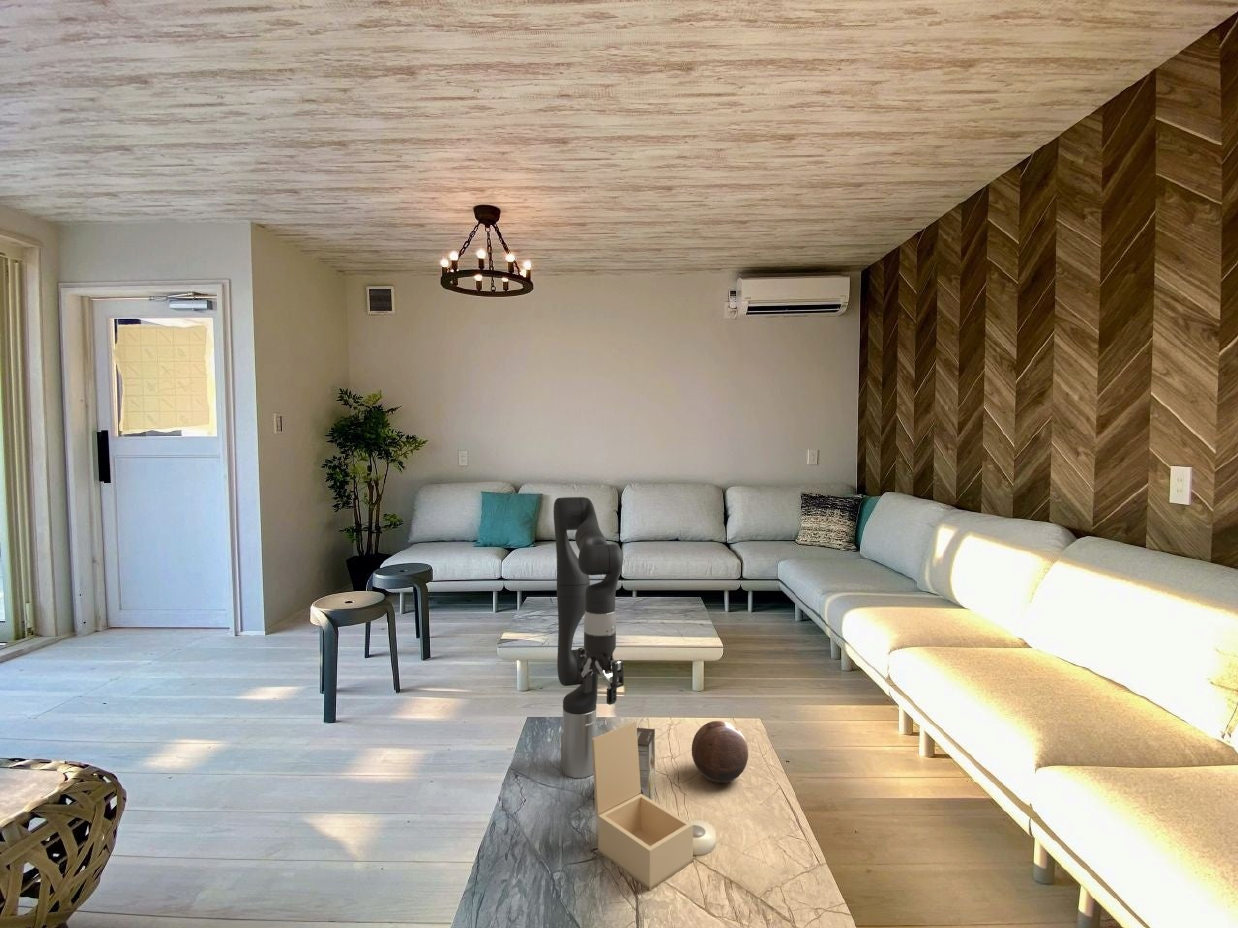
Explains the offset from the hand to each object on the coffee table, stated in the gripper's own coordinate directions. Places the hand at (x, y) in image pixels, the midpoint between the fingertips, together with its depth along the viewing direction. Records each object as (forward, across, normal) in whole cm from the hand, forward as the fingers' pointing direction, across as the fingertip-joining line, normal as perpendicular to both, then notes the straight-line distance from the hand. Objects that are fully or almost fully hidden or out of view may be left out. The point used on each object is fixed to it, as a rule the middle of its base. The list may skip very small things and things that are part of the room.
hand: (599, 697), depth 143 cm
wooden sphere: (+30, +7, +37) cm, 48 cm away
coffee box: (+30, -1, +15) cm, 34 cm away
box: (+30, +16, 0) cm, 34 cm away
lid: (+14, +7, 0) cm, 15 cm away
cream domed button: (+30, +20, +12) cm, 38 cm away
